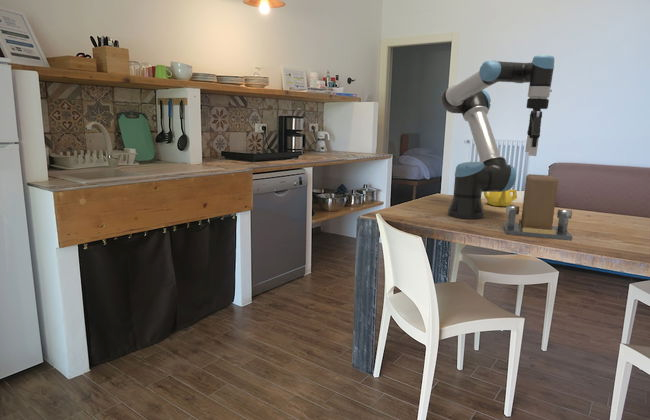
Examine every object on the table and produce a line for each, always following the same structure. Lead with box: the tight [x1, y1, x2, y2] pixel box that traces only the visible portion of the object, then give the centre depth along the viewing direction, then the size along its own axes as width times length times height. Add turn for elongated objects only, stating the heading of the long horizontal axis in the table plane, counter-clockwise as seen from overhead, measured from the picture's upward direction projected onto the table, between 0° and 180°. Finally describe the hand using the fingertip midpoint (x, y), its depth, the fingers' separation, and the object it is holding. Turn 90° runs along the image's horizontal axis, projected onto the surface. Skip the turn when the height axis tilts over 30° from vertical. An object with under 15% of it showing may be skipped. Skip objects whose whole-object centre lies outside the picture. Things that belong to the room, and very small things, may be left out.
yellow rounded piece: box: [483, 188, 518, 207], centre depth 228 cm, size 14×13×10 cm
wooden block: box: [520, 173, 559, 230], centre depth 173 cm, size 10×10×20 cm
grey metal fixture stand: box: [503, 205, 573, 241], centre depth 174 cm, size 22×15×10 cm
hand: (530, 154), depth 179 cm, fingers open, 13 cm apart
